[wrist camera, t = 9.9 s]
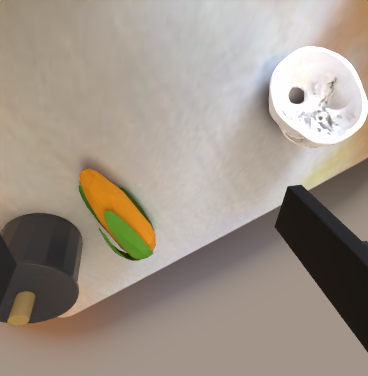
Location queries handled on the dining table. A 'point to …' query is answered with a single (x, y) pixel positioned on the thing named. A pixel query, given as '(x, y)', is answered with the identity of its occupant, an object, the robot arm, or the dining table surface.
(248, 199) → the dining table surface
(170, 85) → the dining table surface
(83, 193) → the corn
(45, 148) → the dining table surface
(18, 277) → the pot lid
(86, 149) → the dining table surface
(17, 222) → the pot
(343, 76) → the skull bowl
